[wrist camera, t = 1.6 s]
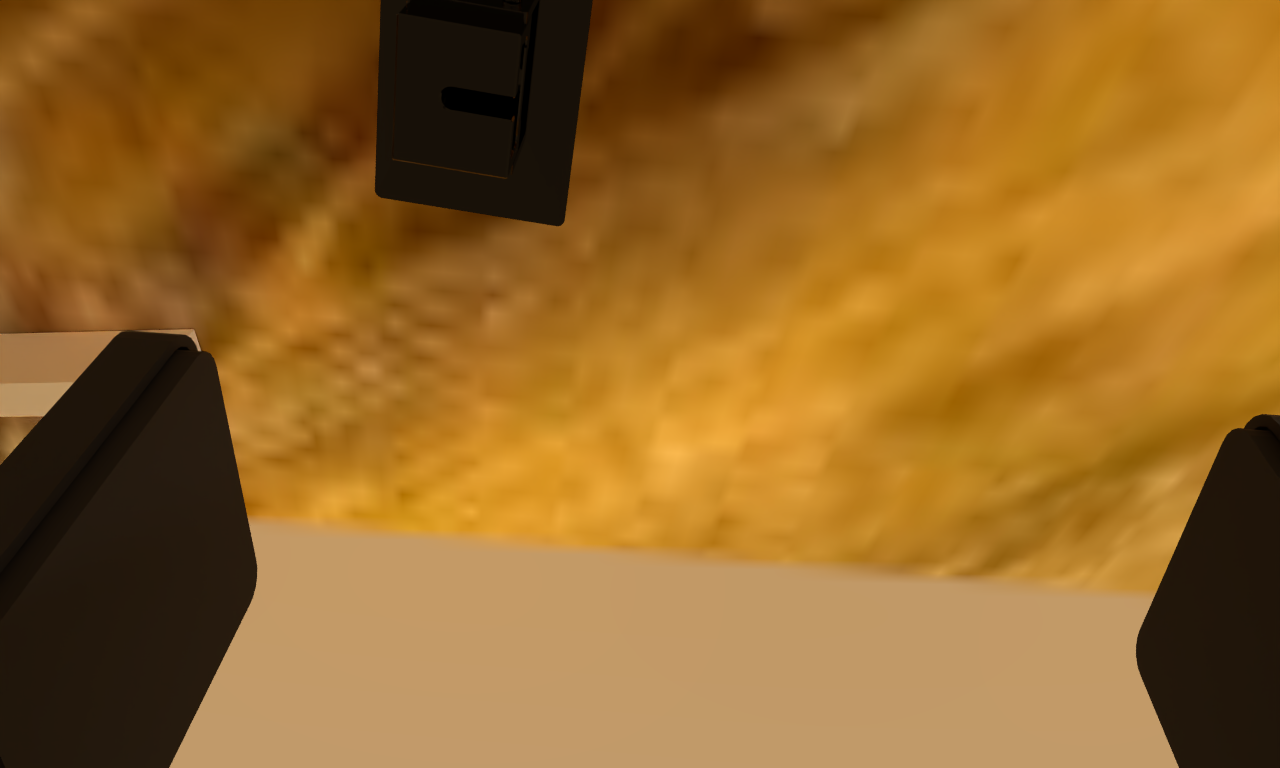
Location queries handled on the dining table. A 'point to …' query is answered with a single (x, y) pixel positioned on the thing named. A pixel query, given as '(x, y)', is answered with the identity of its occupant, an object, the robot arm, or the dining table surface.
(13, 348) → the u-shaped wooden bracket
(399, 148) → the black boxy piece
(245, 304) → the dining table surface
